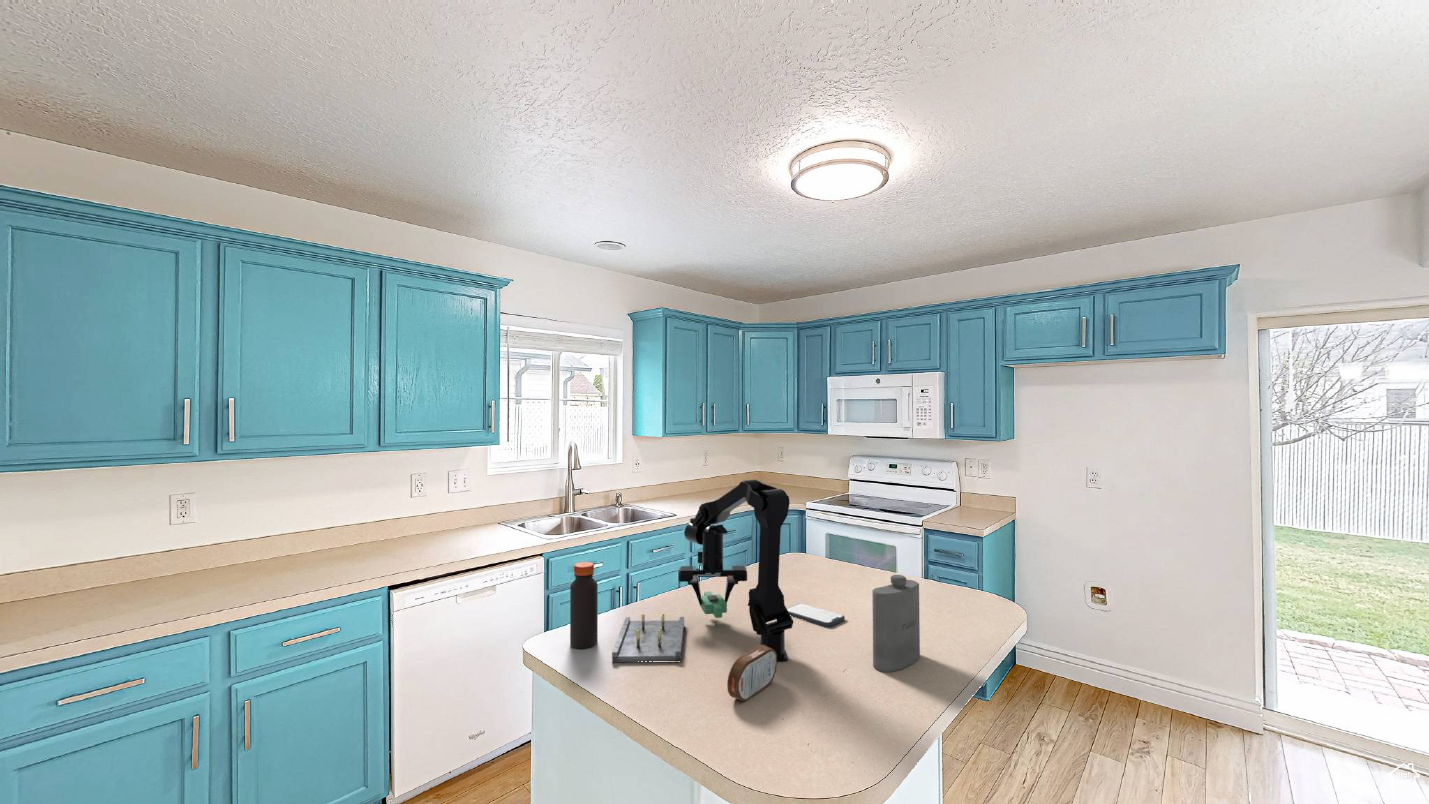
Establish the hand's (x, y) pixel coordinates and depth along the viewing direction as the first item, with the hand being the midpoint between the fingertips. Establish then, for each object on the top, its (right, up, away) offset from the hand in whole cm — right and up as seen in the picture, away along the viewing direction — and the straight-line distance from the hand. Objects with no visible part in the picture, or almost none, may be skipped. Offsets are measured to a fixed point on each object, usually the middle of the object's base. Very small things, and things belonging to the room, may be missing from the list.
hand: (713, 604), depth 153 cm
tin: (+9, -5, -37) cm, 38 cm away
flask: (+43, -5, -23) cm, 50 cm away
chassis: (-16, -5, -12) cm, 21 cm away
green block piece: (0, -1, 0) cm, 1 cm away
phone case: (+29, -6, +5) cm, 30 cm away
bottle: (-33, -5, -13) cm, 36 cm away
